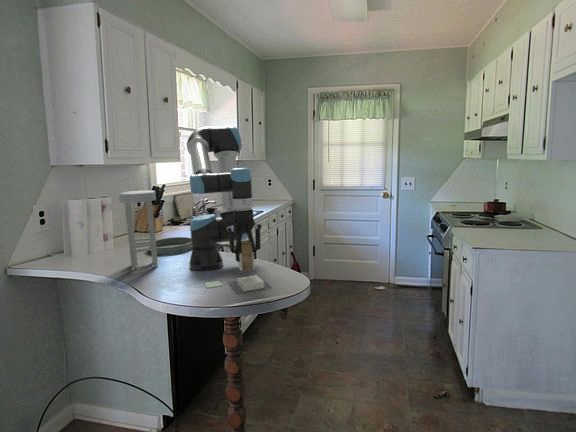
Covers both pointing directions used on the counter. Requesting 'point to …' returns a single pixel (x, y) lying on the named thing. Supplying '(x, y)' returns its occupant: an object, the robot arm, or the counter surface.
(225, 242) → the kitchen cleaver
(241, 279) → the tile
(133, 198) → the stool
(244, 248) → the block
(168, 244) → the cake pan
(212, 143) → the robot arm
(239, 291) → the mat
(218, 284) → the rest pad
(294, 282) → the counter surface
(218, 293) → the counter surface
